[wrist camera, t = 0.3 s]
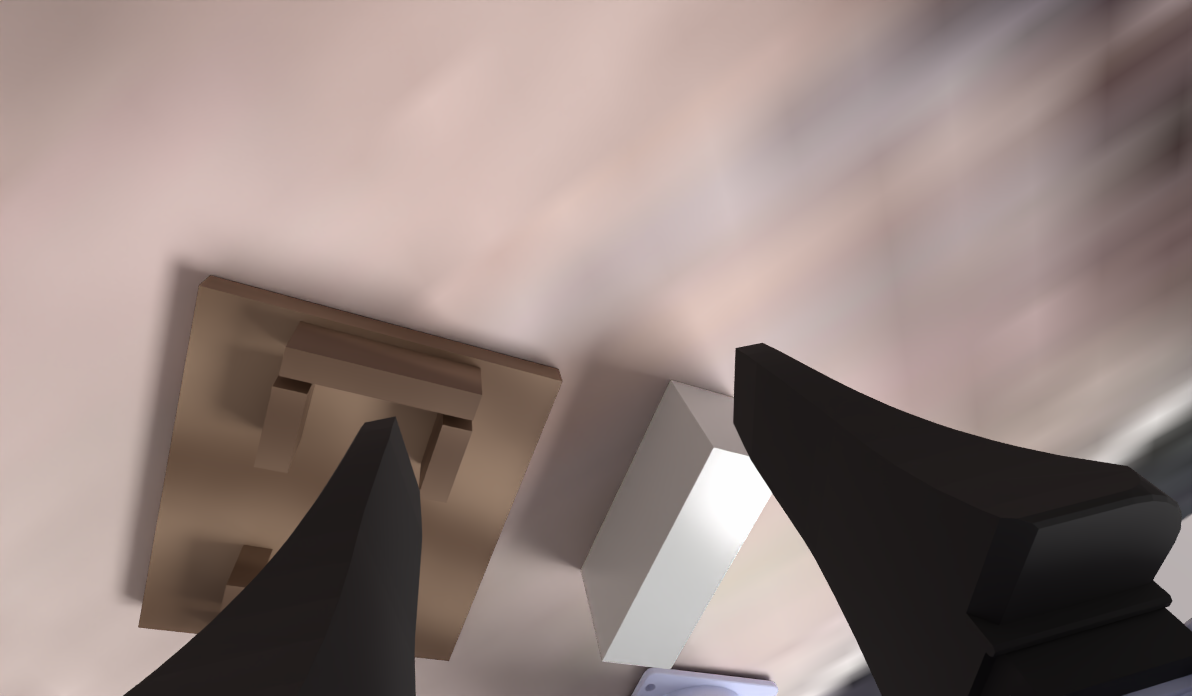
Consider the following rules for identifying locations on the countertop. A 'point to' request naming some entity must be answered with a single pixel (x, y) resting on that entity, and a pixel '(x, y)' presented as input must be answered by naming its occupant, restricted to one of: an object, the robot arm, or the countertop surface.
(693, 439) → the light gray block
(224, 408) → the rack
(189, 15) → the countertop surface
